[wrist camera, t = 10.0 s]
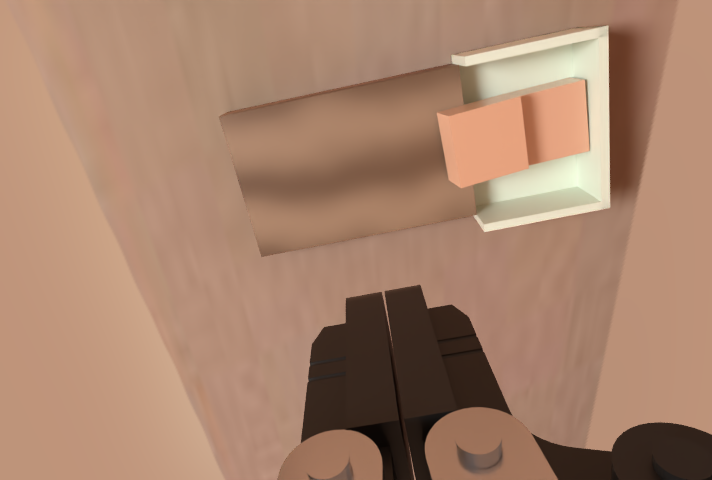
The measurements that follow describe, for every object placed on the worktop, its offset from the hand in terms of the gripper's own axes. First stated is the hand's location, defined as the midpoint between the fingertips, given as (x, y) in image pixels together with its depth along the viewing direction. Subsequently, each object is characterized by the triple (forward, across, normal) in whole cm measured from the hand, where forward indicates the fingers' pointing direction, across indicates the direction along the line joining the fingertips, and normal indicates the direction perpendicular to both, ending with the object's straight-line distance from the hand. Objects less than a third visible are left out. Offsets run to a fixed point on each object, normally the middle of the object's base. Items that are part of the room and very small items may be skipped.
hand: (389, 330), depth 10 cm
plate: (+29, +1, +3) cm, 29 cm away
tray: (+29, -12, +3) cm, 32 cm away
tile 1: (+27, -8, +3) cm, 28 cm away
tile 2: (+28, -13, +3) cm, 31 cm away
